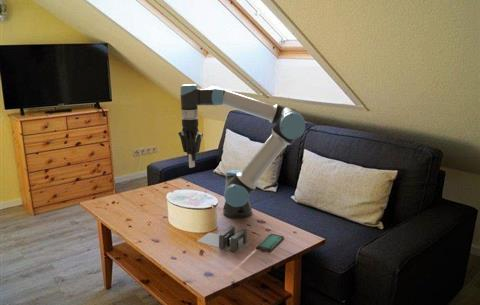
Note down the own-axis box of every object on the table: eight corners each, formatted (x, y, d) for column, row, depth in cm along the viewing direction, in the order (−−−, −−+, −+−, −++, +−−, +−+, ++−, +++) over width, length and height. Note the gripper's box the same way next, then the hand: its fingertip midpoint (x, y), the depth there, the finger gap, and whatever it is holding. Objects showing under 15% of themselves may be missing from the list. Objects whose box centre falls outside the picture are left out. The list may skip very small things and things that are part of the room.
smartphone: (255, 246, 171) (270, 232, 183) (255, 249, 171) (270, 235, 184) (270, 250, 167) (284, 236, 180) (270, 253, 168) (284, 238, 180)
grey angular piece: (209, 233, 185) (208, 220, 183) (250, 244, 174) (250, 230, 172) (196, 242, 176) (196, 228, 175) (239, 254, 166) (239, 239, 164)
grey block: (218, 243, 174) (218, 235, 173) (223, 240, 177) (223, 231, 176) (238, 249, 169) (238, 240, 168) (243, 245, 172) (243, 236, 171)
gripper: (173, 118, 182) (176, 167, 189) (196, 120, 176) (198, 170, 182) (183, 115, 189) (185, 163, 195) (206, 118, 182) (207, 166, 189)
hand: (192, 166), depth 189 cm, fingers closed
